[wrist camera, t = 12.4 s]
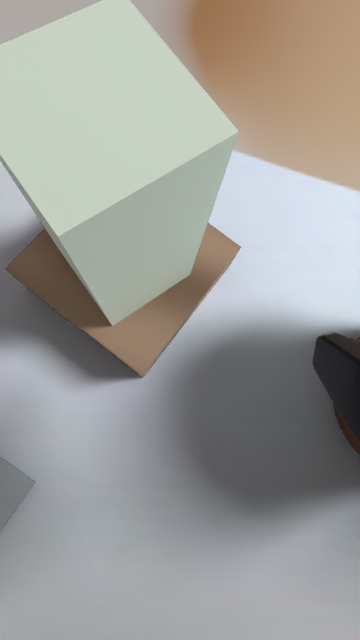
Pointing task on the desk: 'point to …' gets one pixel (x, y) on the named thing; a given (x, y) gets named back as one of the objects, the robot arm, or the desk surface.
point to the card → (11, 490)
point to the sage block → (112, 150)
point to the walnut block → (142, 325)
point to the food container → (345, 429)
